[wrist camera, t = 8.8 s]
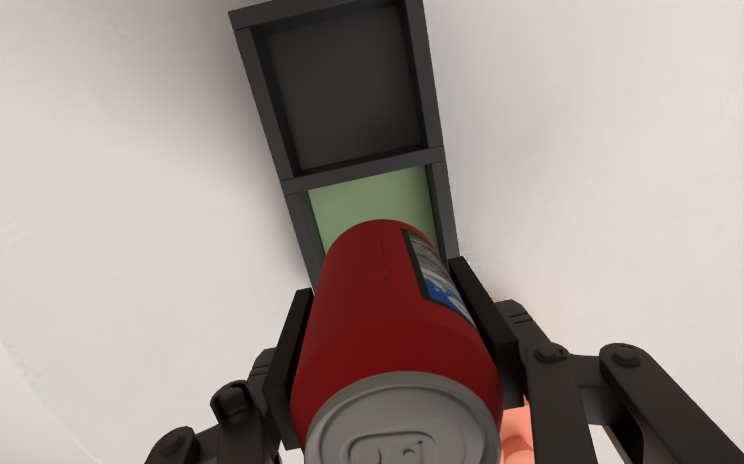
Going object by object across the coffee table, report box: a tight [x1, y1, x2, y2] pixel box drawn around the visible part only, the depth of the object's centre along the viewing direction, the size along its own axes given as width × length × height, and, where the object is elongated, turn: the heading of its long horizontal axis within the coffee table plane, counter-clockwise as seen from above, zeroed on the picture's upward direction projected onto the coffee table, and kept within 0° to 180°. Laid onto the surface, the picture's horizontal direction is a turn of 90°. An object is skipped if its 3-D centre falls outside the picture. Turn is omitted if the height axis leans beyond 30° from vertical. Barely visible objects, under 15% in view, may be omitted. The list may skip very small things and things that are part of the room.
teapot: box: [500, 394, 535, 464], centre depth 29 cm, size 12×18×10 cm
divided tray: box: [228, 0, 460, 294], centre depth 25 cm, size 21×11×4 cm, turn 12°
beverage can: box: [290, 219, 504, 464], centre depth 15 cm, size 7×7×12 cm
